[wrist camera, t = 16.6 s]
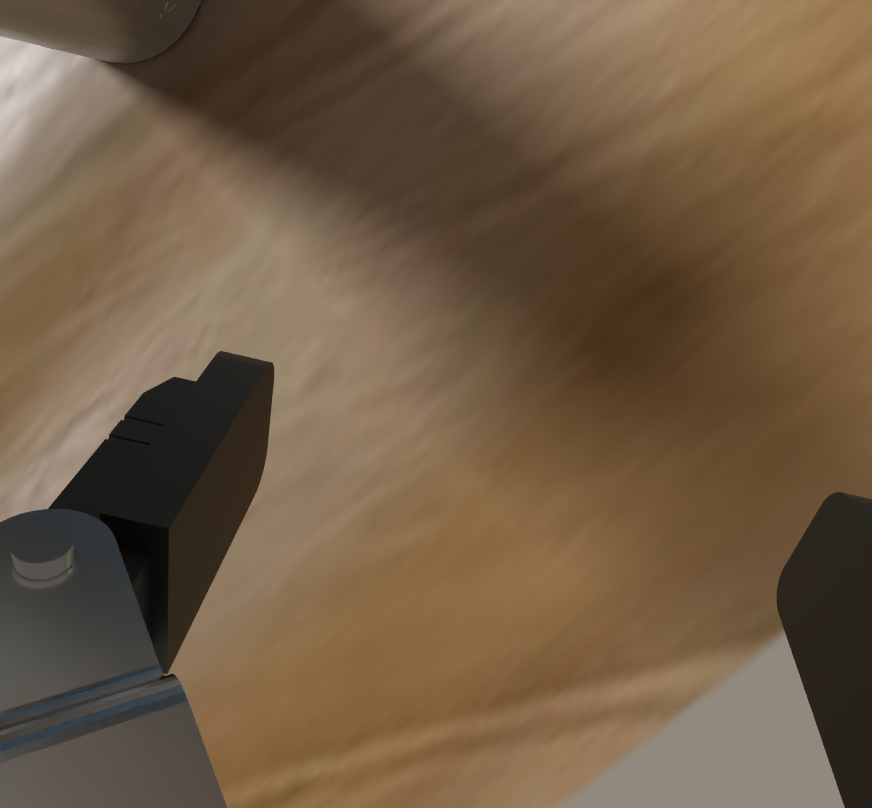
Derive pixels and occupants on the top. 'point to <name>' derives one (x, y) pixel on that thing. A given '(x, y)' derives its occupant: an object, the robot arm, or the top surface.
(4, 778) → the robot arm
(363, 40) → the top surface
